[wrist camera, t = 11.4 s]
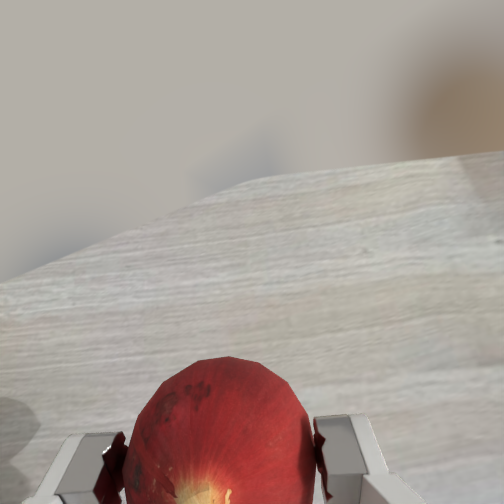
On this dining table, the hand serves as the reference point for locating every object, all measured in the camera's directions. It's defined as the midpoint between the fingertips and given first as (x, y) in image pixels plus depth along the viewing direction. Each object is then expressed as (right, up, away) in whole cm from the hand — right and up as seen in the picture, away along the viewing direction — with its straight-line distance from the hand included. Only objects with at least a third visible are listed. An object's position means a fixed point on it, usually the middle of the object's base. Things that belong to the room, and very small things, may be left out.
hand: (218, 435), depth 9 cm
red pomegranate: (0, -2, +4) cm, 5 cm away
